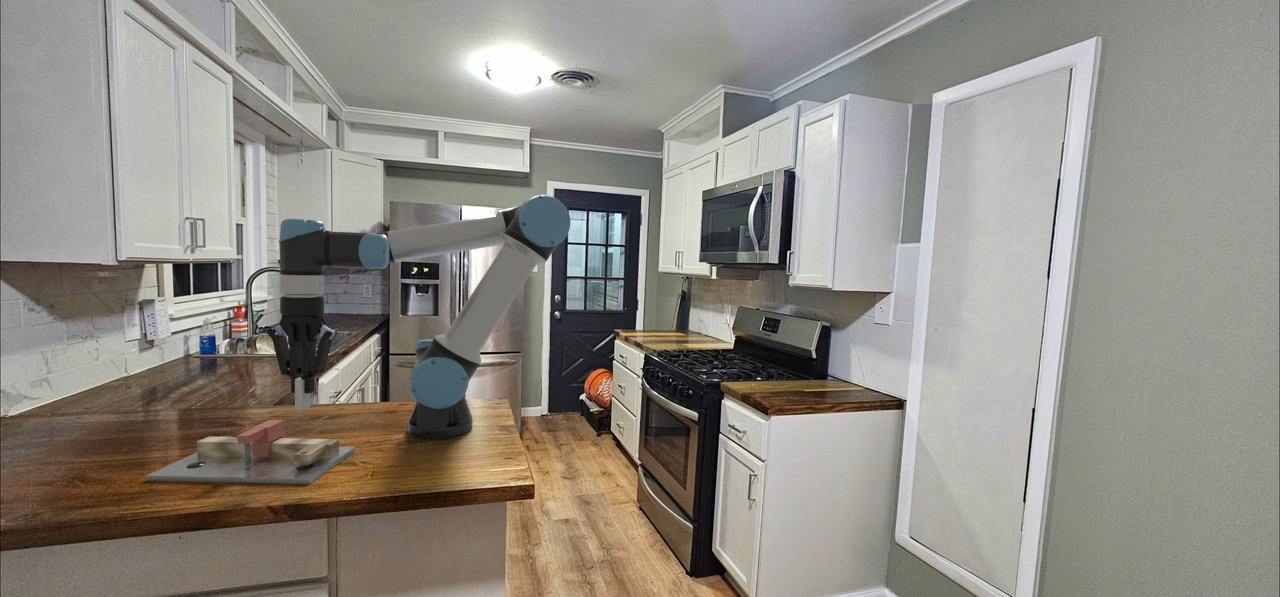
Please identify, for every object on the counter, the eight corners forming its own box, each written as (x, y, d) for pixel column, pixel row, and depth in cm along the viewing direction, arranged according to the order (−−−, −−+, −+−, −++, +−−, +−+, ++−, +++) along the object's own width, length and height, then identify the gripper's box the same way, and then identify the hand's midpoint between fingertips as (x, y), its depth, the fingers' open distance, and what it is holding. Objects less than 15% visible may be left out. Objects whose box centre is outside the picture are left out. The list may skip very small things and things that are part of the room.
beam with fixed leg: (339, 453, 107) (338, 439, 107) (314, 469, 99) (314, 455, 99) (209, 450, 106) (208, 436, 106) (173, 466, 98) (172, 451, 98)
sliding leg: (285, 447, 108) (284, 419, 108) (251, 466, 98) (250, 436, 98) (271, 447, 108) (270, 419, 108) (235, 466, 98) (234, 435, 98)
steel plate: (355, 451, 111) (354, 446, 111) (309, 483, 95) (309, 478, 95) (215, 448, 110) (215, 443, 110) (146, 480, 94) (145, 474, 94)
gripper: (345, 295, 107) (344, 404, 109) (282, 292, 106) (283, 402, 108) (324, 298, 99) (324, 415, 101) (256, 295, 99) (257, 412, 101)
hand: (302, 408), depth 105 cm, fingers closed
